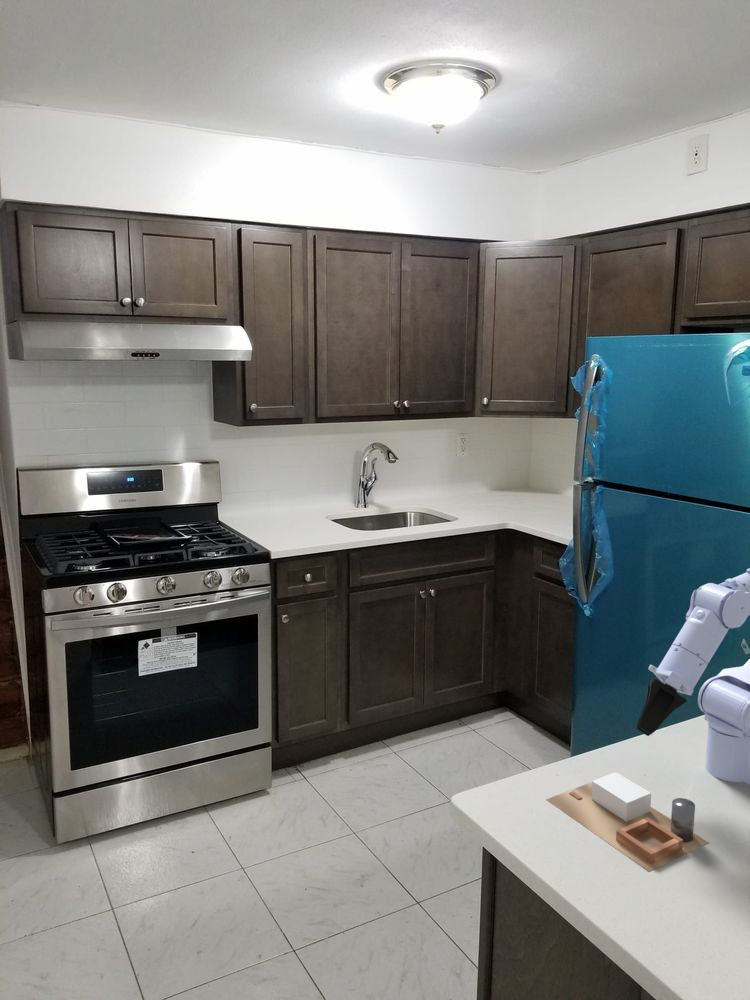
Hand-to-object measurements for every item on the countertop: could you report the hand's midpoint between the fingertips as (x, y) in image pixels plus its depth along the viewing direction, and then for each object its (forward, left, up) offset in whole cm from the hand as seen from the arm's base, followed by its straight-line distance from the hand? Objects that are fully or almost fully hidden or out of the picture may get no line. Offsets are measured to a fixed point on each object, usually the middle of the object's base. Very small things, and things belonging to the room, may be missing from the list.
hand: (643, 731), depth 120 cm
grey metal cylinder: (+2, +9, -11) cm, 15 cm away
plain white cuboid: (+4, -1, -11) cm, 12 cm away
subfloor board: (+6, +2, -12) cm, 14 cm away
